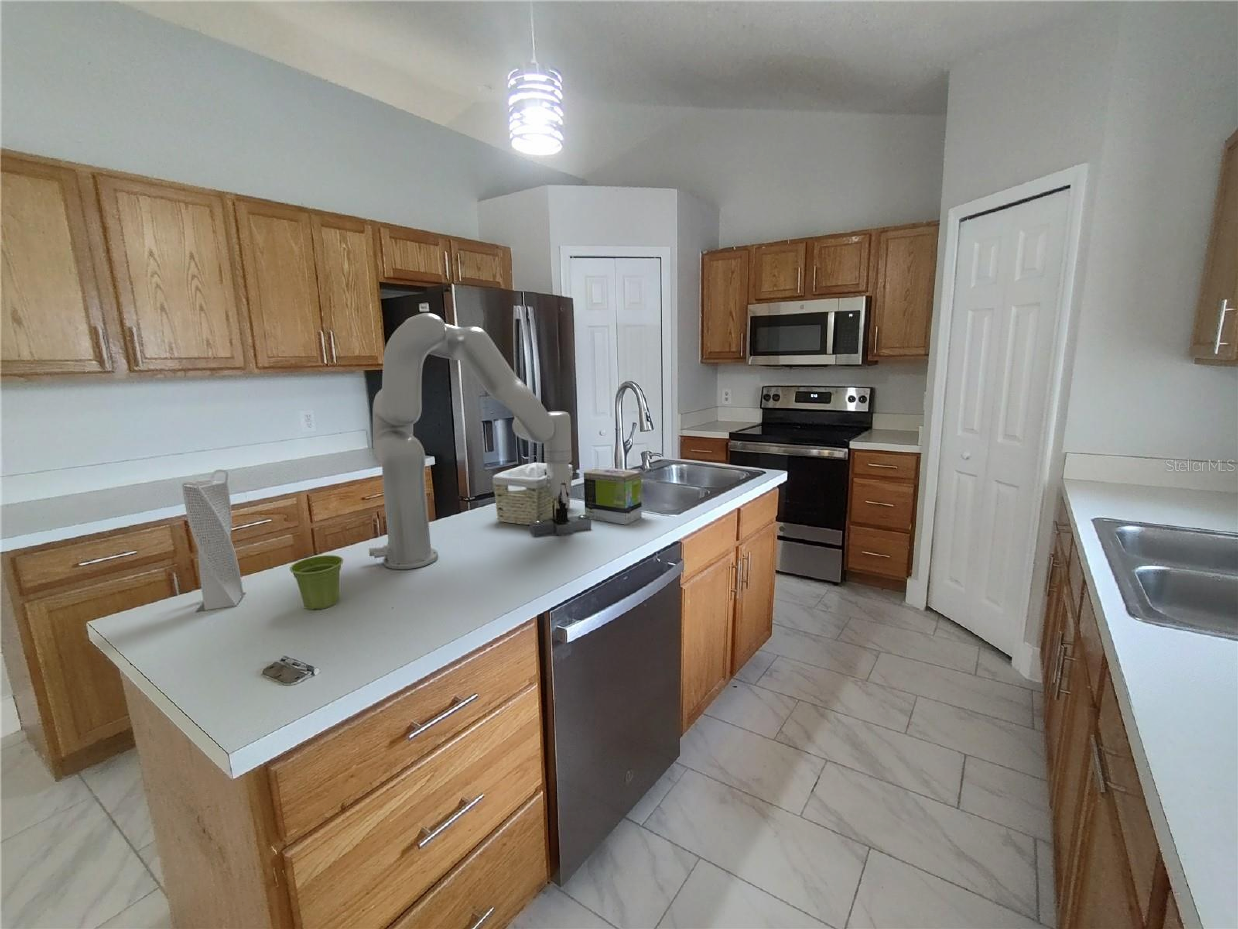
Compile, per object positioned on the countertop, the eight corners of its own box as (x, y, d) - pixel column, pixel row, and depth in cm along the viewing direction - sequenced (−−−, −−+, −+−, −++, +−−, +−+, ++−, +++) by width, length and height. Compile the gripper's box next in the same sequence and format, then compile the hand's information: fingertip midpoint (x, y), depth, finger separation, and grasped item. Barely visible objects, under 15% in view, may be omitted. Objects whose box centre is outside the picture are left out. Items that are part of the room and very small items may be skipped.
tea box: (642, 517, 169) (642, 470, 166) (625, 526, 161) (625, 476, 158) (602, 510, 177) (601, 465, 174) (583, 518, 169) (582, 471, 166)
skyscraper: (253, 593, 119) (234, 465, 113) (243, 608, 111) (222, 473, 106) (207, 599, 116) (184, 469, 110) (193, 616, 108) (169, 477, 103)
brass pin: (556, 528, 155) (555, 500, 153) (553, 525, 158) (552, 498, 156) (567, 526, 156) (566, 499, 154) (564, 523, 159) (563, 496, 157)
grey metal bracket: (535, 538, 150) (534, 526, 150) (529, 529, 158) (528, 517, 158) (593, 531, 156) (592, 519, 155) (584, 522, 164) (584, 511, 163)
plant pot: (357, 599, 114) (352, 560, 112) (312, 618, 106) (307, 576, 104) (330, 590, 119) (325, 552, 117) (285, 607, 111) (280, 567, 109)
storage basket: (533, 503, 187) (531, 460, 184) (576, 507, 181) (575, 463, 178) (492, 523, 165) (489, 475, 162) (539, 529, 159) (537, 479, 156)
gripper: (538, 452, 159) (541, 513, 163) (551, 462, 144) (553, 529, 148) (563, 450, 162) (565, 511, 165) (579, 460, 147) (580, 526, 150)
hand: (560, 519), depth 157 cm, fingers closed on brass pin, 3 cm apart
